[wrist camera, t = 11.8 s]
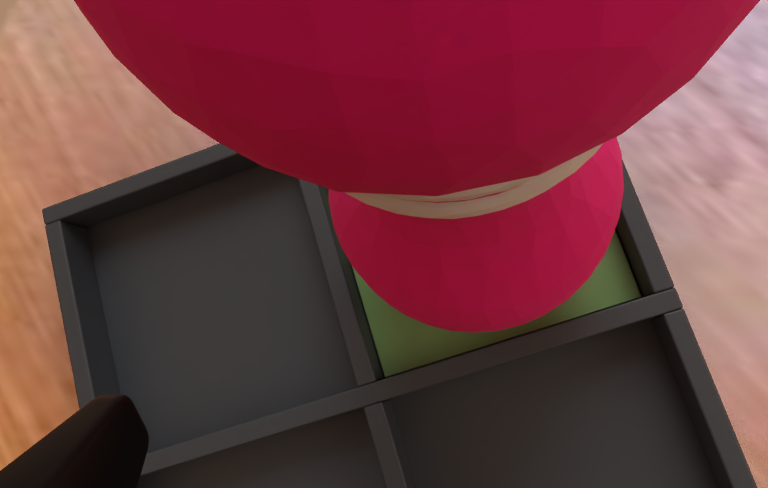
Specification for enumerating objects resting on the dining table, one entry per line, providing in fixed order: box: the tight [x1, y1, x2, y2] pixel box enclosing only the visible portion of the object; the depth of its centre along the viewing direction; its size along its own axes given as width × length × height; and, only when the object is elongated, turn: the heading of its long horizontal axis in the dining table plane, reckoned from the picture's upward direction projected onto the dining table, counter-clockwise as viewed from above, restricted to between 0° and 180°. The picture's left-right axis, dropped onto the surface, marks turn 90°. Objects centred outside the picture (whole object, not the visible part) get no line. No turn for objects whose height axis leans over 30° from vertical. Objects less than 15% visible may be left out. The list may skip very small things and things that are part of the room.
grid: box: [42, 143, 757, 488], centre depth 20 cm, size 18×18×2 cm
